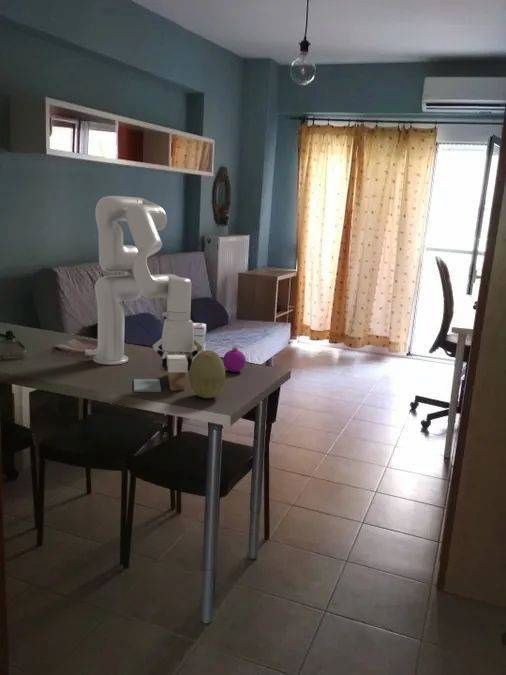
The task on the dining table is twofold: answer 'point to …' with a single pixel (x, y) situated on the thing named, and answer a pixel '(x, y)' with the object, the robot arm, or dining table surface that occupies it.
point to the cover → (177, 363)
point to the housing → (176, 380)
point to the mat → (147, 385)
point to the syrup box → (199, 336)
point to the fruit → (207, 374)
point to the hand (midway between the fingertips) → (176, 369)
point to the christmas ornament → (234, 360)
